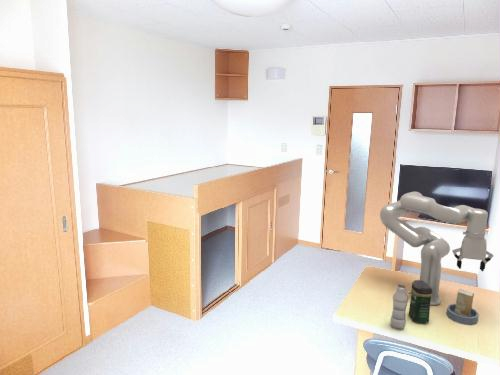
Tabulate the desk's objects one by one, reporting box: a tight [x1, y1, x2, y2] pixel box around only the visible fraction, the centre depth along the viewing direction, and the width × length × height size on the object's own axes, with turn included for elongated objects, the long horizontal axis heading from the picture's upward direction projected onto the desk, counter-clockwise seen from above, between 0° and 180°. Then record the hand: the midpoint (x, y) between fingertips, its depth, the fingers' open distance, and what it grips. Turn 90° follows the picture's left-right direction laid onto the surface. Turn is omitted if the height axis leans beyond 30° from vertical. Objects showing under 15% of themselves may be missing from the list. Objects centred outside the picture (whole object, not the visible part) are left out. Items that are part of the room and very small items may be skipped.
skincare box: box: [454, 288, 475, 317], centre depth 182 cm, size 6×4×12 cm
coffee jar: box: [408, 279, 432, 325], centre depth 180 cm, size 10×8×19 cm
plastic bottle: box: [390, 284, 409, 330], centre depth 173 cm, size 6×7×20 cm
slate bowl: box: [445, 303, 480, 326], centre depth 183 cm, size 13×13×4 cm
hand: (470, 268), depth 182 cm, fingers open, 9 cm apart
